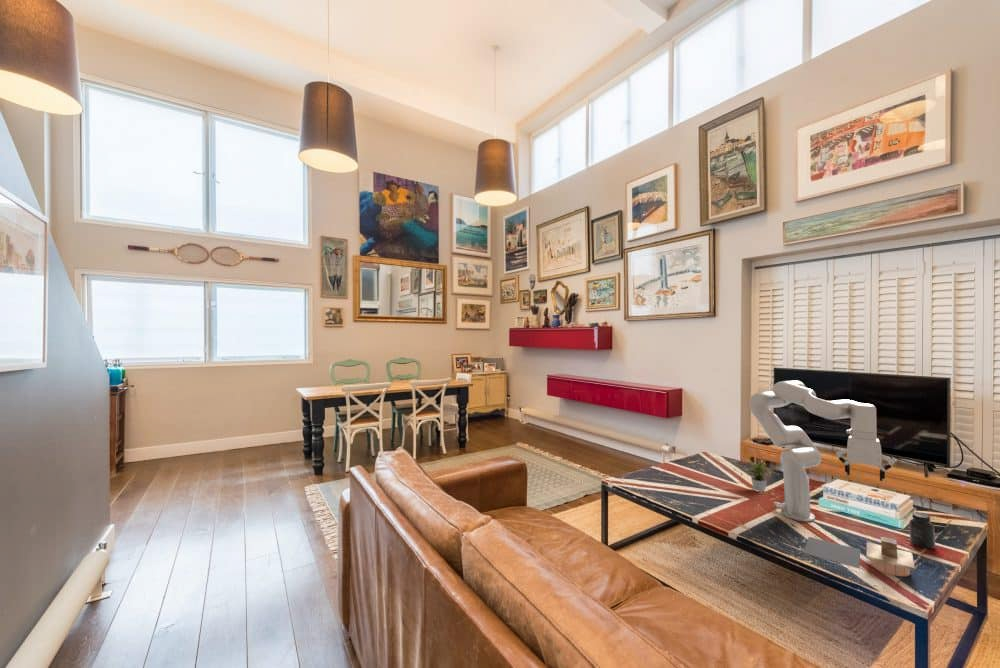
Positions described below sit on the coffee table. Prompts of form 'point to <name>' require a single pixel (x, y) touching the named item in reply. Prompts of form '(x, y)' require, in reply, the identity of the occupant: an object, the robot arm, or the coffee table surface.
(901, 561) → the lid
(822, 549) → the mat
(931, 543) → the supplement bottle
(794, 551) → the coffee table surface
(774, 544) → the coffee table surface
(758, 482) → the house plant
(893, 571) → the bowl
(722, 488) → the coffee table surface
